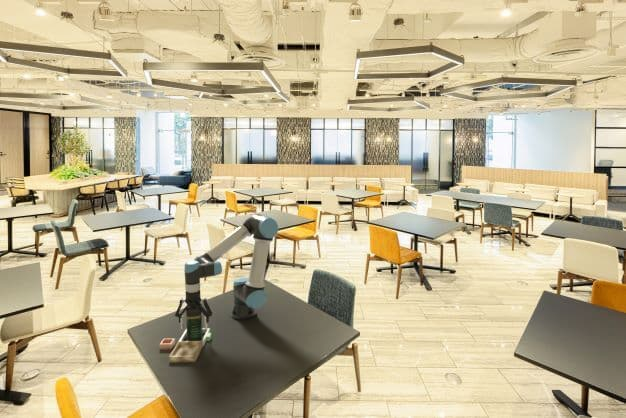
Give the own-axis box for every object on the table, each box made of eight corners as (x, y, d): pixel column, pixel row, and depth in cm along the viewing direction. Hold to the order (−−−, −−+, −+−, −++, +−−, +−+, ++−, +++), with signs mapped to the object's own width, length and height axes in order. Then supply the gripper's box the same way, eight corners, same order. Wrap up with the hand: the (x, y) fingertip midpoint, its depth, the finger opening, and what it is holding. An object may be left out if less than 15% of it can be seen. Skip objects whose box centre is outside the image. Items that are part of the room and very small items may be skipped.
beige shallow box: (202, 346, 194) (202, 341, 193) (195, 362, 180) (195, 356, 179) (178, 346, 193) (178, 341, 193) (169, 362, 179) (168, 356, 179)
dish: (175, 343, 196) (175, 338, 196) (171, 349, 190) (171, 344, 190) (163, 343, 196) (163, 338, 196) (159, 349, 190) (159, 344, 190)
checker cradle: (213, 332, 209) (213, 328, 209) (207, 346, 194) (207, 341, 194) (186, 332, 208) (186, 328, 208) (178, 346, 194) (178, 342, 193)
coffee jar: (202, 342, 198) (201, 309, 195) (187, 344, 195) (185, 311, 193) (202, 334, 207) (200, 302, 204) (187, 336, 204) (185, 304, 202)
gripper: (217, 287, 201) (218, 324, 204) (172, 287, 200) (173, 325, 203) (214, 292, 194) (215, 331, 197) (167, 292, 193) (169, 331, 196)
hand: (194, 328), depth 200 cm, fingers open, 12 cm apart
